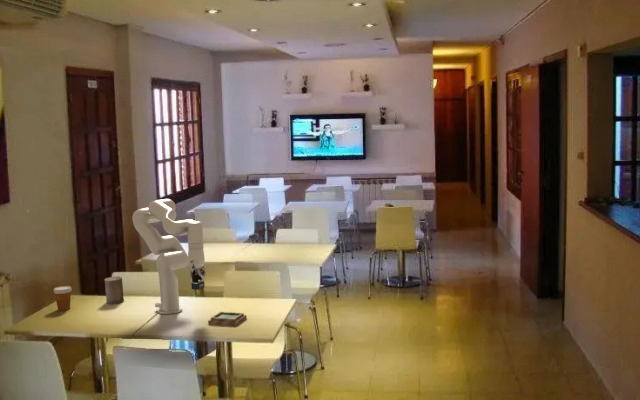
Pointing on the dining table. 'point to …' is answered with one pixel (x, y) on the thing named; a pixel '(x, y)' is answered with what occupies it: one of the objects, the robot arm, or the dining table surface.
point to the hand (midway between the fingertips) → (197, 280)
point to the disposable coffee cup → (63, 297)
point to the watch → (201, 283)
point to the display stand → (227, 319)
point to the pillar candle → (114, 290)
